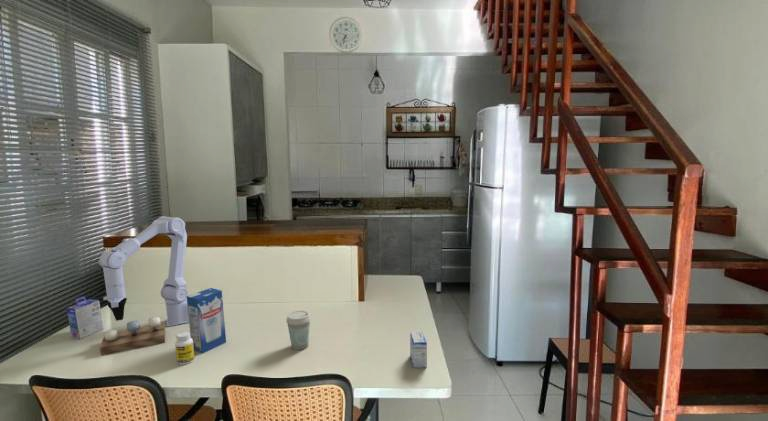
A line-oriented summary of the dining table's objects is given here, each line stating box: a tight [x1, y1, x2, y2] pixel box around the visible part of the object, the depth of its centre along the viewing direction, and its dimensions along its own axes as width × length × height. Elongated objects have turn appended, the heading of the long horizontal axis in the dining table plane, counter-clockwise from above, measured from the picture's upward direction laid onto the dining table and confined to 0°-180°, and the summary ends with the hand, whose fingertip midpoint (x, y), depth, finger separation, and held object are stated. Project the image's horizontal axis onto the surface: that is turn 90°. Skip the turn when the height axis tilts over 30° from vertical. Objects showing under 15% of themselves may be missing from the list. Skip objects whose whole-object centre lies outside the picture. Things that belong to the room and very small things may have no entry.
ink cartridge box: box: [65, 296, 104, 340], centre depth 165 cm, size 10×6×14 cm, turn 161°
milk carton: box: [186, 287, 227, 354], centre depth 151 cm, size 10×6×20 cm, turn 148°
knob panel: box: [99, 322, 166, 357], centre depth 157 cm, size 20×12×3 cm, turn 117°
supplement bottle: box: [174, 331, 195, 366], centre depth 142 cm, size 5×5×10 cm
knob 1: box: [104, 329, 119, 341], centre depth 153 cm, size 4×4×4 cm
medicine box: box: [409, 331, 428, 368], centre depth 138 cm, size 8×4×9 cm, turn 5°
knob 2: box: [147, 316, 162, 331], centre depth 159 cm, size 4×4×4 cm
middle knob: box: [126, 320, 141, 335], centre depth 156 cm, size 4×4×4 cm
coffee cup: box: [286, 310, 312, 351], centre depth 150 cm, size 8×8×12 cm
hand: (119, 319), depth 154 cm, fingers closed
